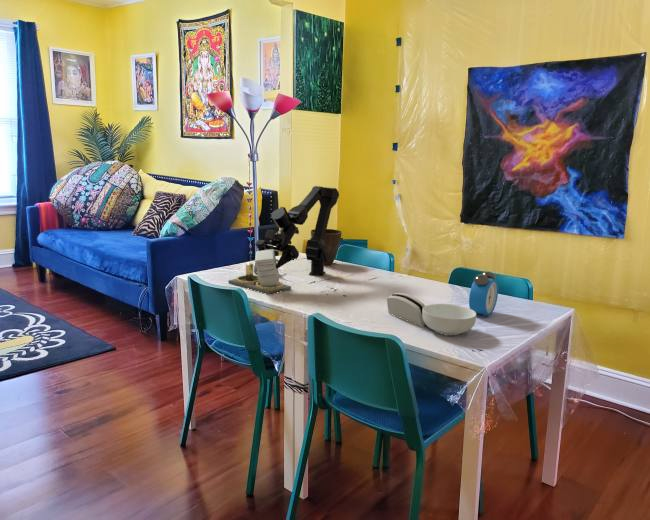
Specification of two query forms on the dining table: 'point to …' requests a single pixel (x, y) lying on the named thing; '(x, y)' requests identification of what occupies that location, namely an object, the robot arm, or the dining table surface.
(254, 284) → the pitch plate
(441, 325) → the cereal bowl
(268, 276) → the supplement box
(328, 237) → the plant pot
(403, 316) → the napkin holder
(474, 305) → the alarm clock
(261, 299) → the dining table surface
